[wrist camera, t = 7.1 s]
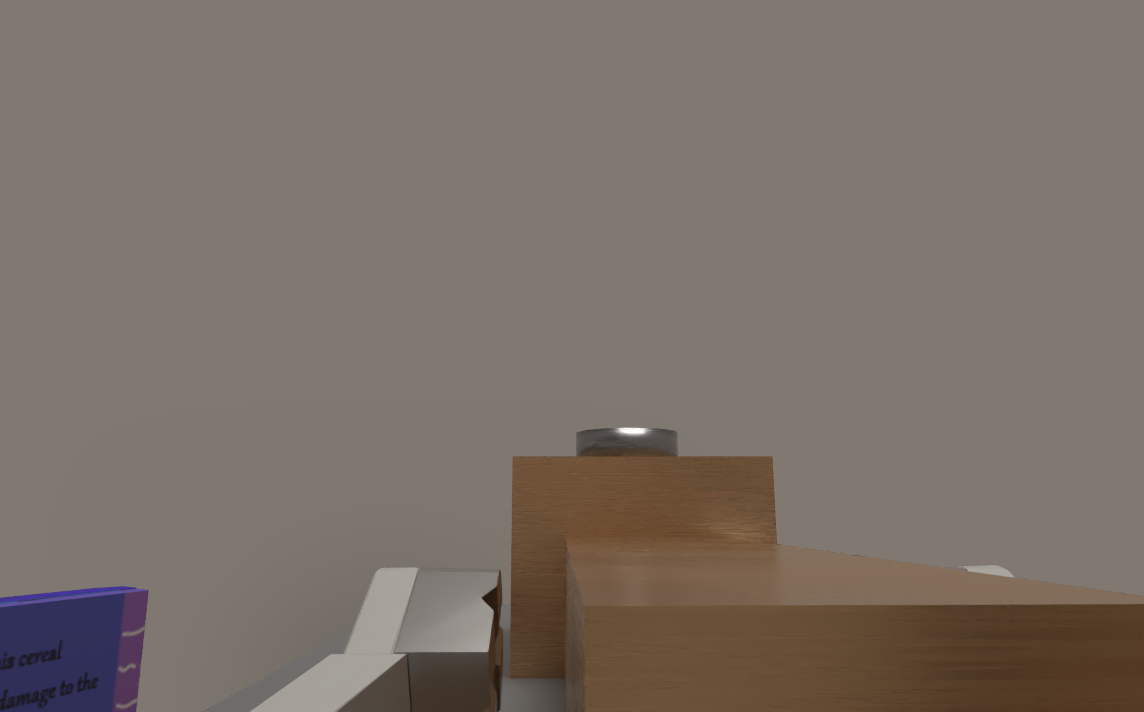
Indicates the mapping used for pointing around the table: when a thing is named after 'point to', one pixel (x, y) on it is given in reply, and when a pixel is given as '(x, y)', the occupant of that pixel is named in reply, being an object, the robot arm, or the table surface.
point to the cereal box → (72, 650)
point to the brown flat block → (776, 603)
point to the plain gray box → (525, 703)
